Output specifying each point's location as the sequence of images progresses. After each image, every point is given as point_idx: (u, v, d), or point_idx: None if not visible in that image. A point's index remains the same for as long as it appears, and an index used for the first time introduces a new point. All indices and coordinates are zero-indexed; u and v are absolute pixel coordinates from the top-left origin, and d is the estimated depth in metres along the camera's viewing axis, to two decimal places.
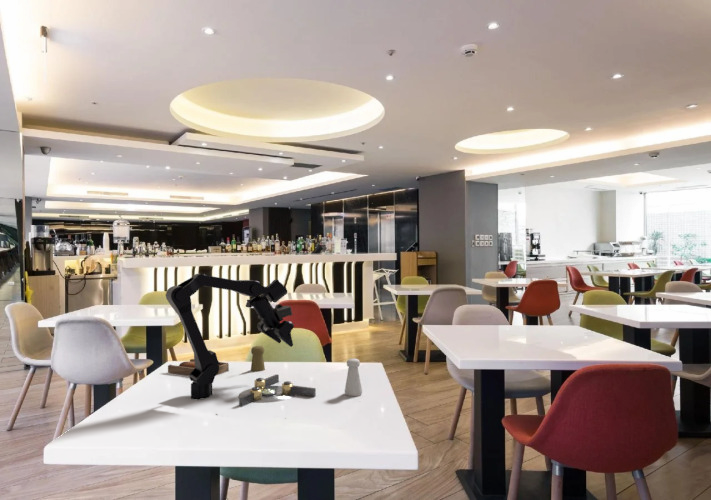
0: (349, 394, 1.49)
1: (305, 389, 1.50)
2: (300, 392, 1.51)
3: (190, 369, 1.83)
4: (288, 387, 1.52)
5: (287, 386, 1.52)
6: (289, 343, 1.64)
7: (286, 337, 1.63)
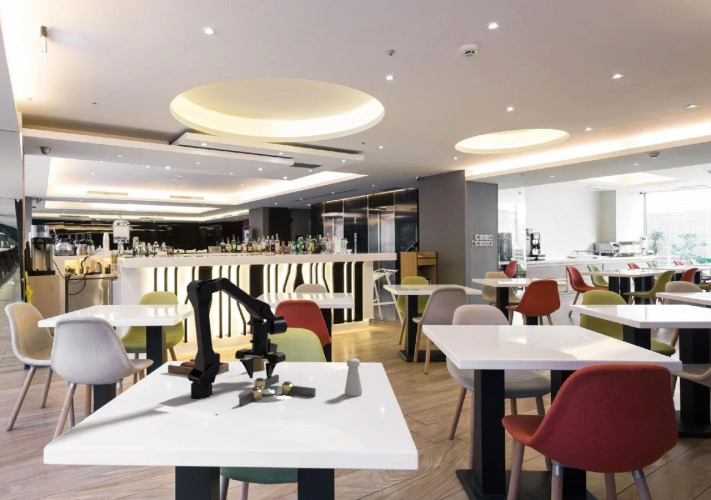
0: (349, 394, 1.49)
1: (305, 389, 1.50)
2: (300, 392, 1.51)
3: (190, 369, 1.83)
4: (288, 387, 1.52)
5: (287, 386, 1.52)
6: (269, 376, 1.65)
7: (270, 368, 1.65)
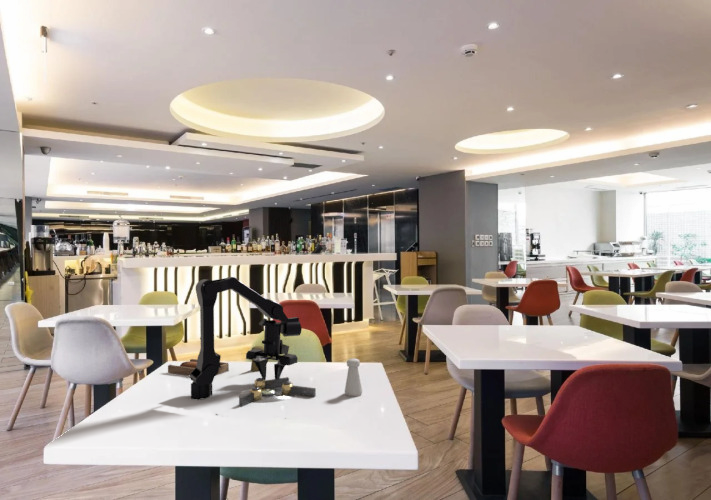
0: (349, 394, 1.49)
1: (305, 389, 1.50)
2: (300, 392, 1.51)
3: (190, 369, 1.83)
4: (288, 387, 1.52)
5: (287, 386, 1.52)
6: (277, 377, 1.63)
7: (279, 370, 1.62)
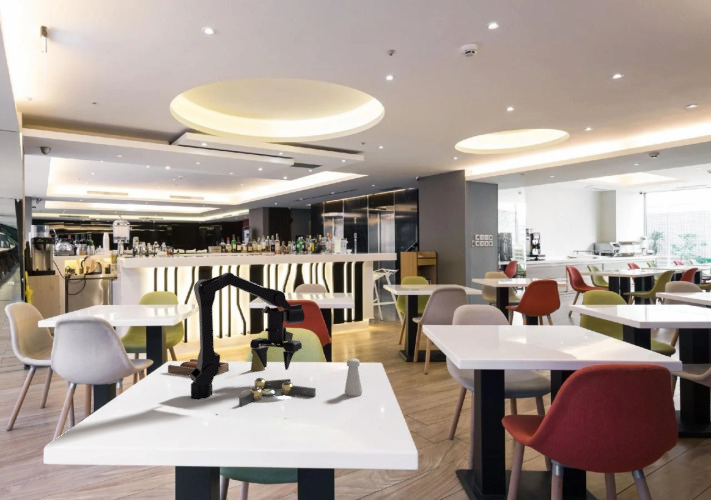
0: (349, 394, 1.49)
1: (305, 389, 1.50)
2: (300, 392, 1.51)
3: (190, 369, 1.83)
4: (288, 387, 1.52)
5: (287, 386, 1.52)
6: (287, 365, 1.62)
7: (288, 357, 1.62)
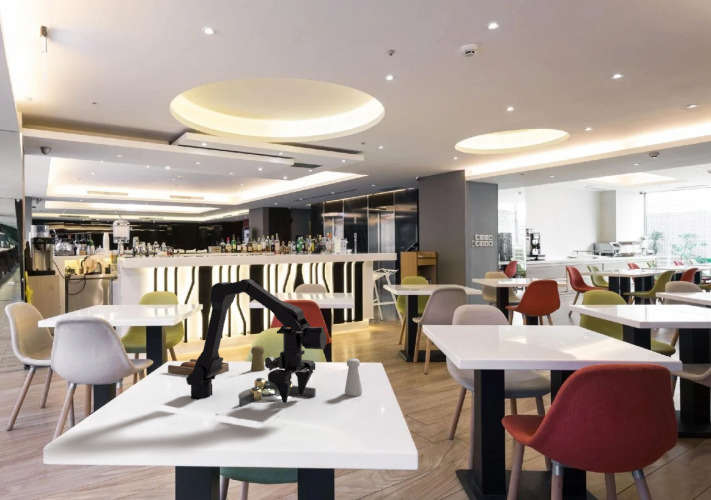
0: (349, 394, 1.49)
1: (305, 389, 1.50)
2: None
3: (190, 369, 1.83)
4: None
5: None
6: None
7: None
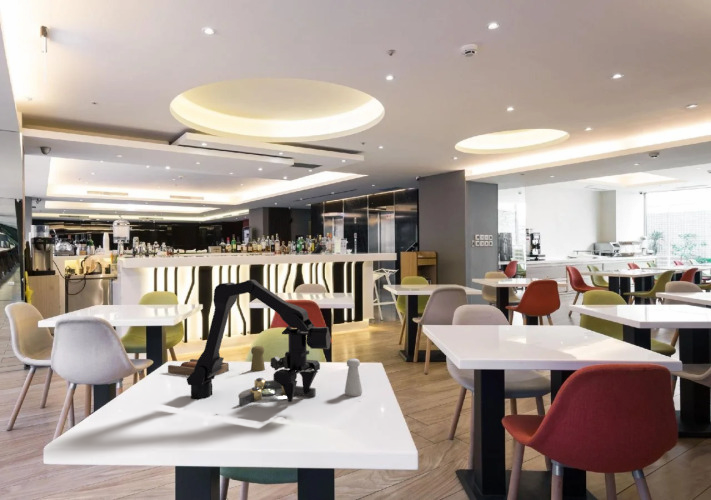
0: (349, 394, 1.49)
1: None
2: (300, 392, 1.51)
3: (190, 369, 1.83)
4: None
5: None
6: None
7: None
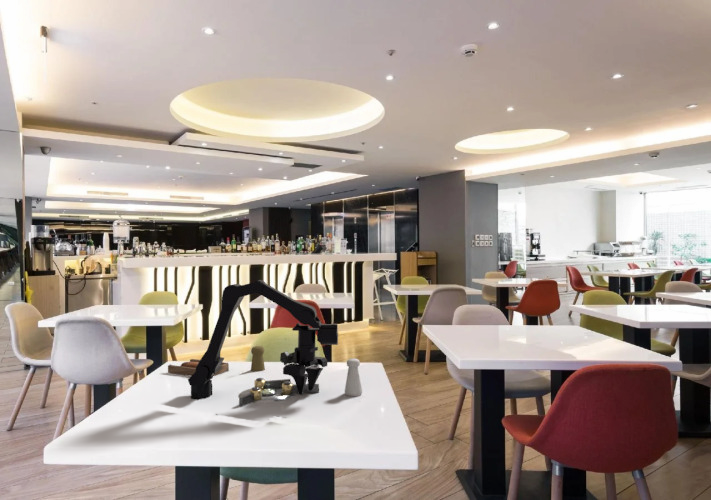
0: (349, 394, 1.49)
1: None
2: (304, 389, 1.53)
3: (190, 369, 1.83)
4: (290, 387, 1.52)
5: (290, 386, 1.52)
6: None
7: None
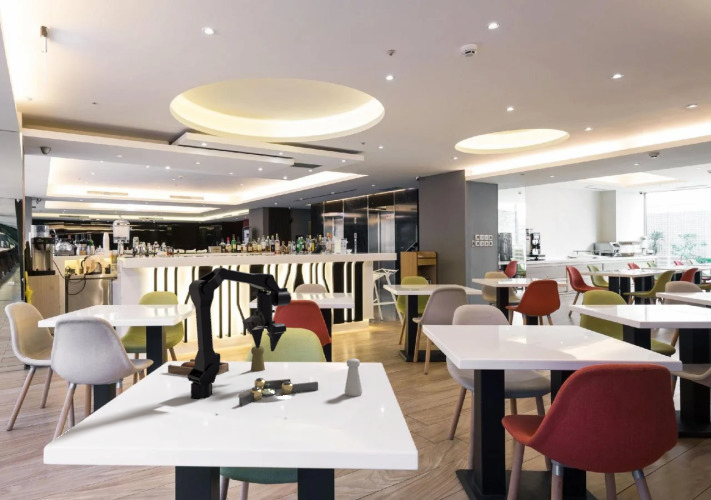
0: (349, 394, 1.49)
1: (309, 384, 1.56)
2: (304, 388, 1.55)
3: (190, 369, 1.83)
4: (291, 386, 1.53)
5: (291, 385, 1.52)
6: None
7: None
